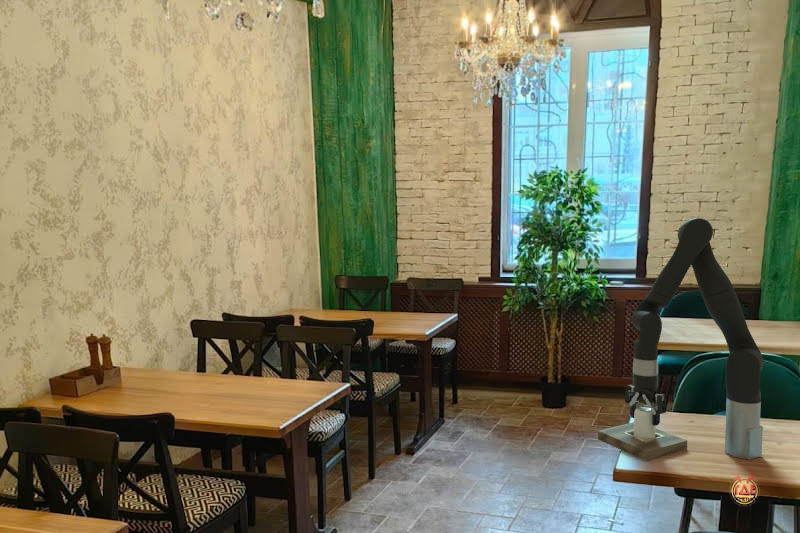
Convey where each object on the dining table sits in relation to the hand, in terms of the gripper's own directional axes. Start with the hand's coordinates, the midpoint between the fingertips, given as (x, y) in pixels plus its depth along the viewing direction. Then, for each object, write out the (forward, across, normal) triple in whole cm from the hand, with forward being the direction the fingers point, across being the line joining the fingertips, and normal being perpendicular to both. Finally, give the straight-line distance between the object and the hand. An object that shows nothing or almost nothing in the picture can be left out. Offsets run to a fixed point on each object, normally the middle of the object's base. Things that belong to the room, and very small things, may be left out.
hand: (644, 421), depth 201 cm
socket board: (+8, 0, 0) cm, 8 cm away
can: (+8, 0, 0) cm, 8 cm away
